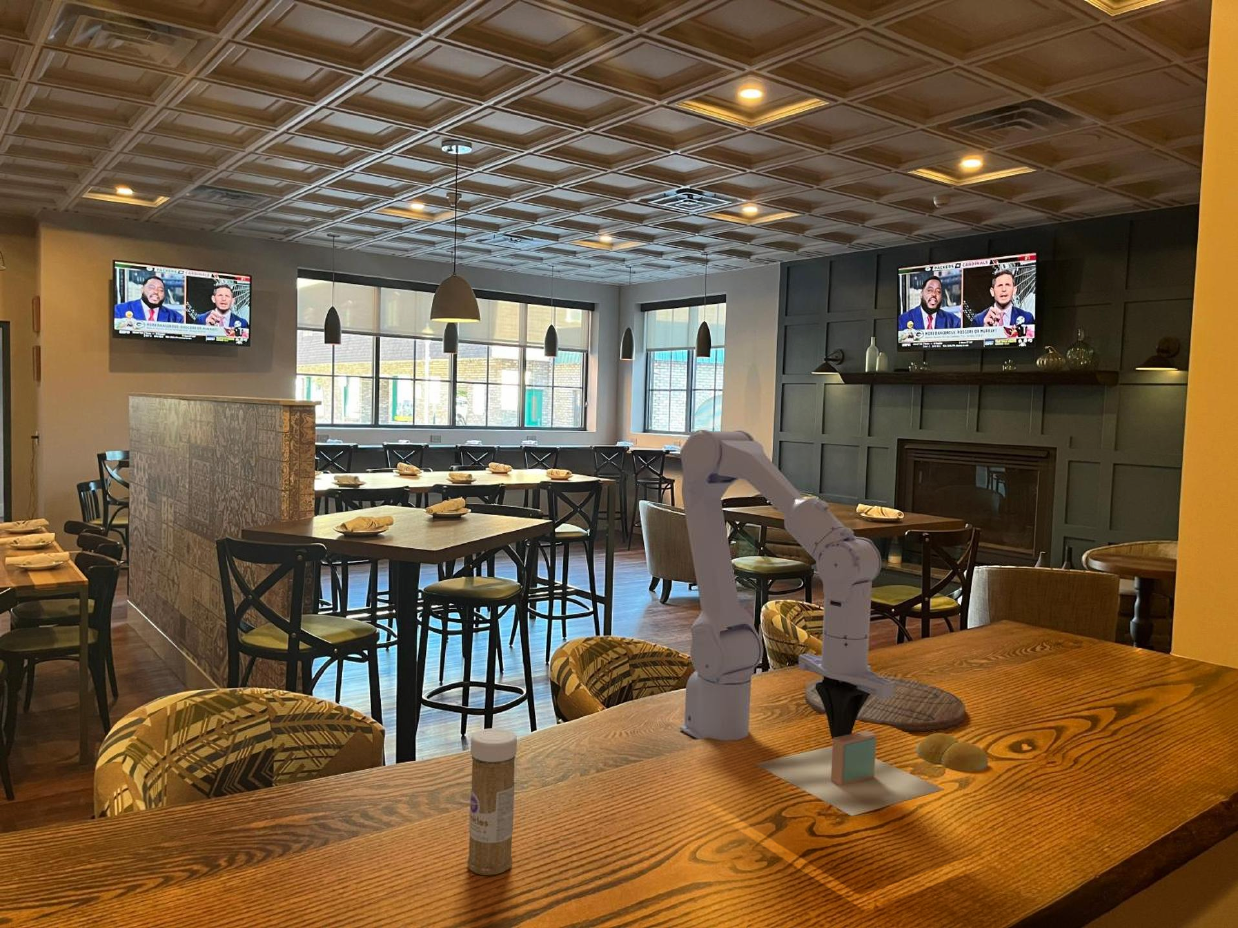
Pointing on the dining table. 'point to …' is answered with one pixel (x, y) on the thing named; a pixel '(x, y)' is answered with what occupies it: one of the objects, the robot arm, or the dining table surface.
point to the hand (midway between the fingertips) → (840, 738)
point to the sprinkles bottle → (492, 801)
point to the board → (854, 797)
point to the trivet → (904, 706)
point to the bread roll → (952, 753)
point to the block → (853, 757)
